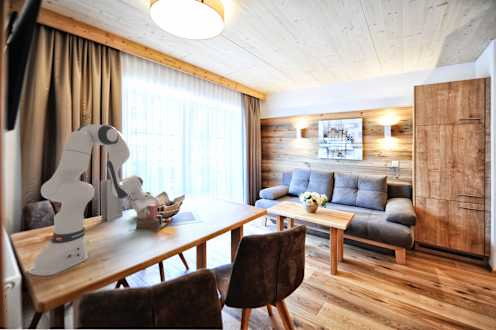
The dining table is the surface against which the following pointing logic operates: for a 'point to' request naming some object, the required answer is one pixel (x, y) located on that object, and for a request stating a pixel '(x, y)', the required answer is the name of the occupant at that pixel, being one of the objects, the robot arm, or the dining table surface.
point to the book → (152, 211)
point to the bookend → (159, 218)
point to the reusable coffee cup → (141, 214)
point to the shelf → (149, 224)
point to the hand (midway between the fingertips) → (152, 212)
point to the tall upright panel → (110, 202)
